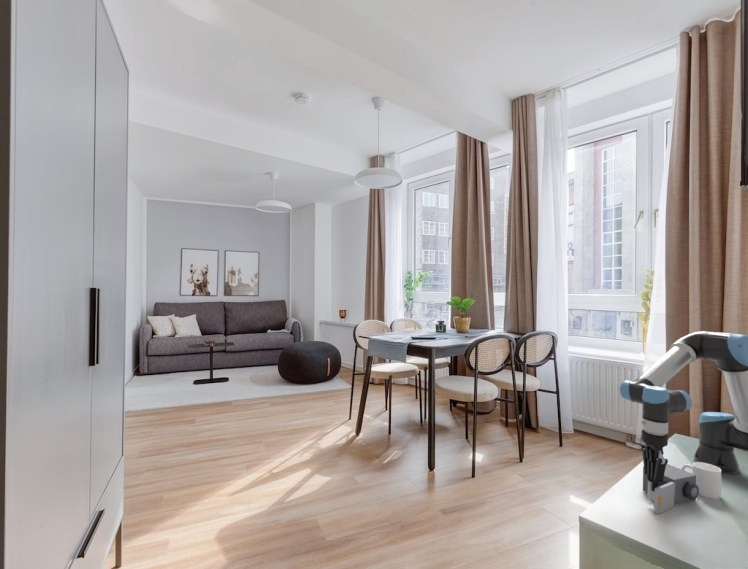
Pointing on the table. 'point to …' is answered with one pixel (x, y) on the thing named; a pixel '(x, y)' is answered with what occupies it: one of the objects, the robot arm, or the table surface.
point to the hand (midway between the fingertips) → (652, 499)
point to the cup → (706, 479)
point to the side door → (664, 497)
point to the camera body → (678, 484)
